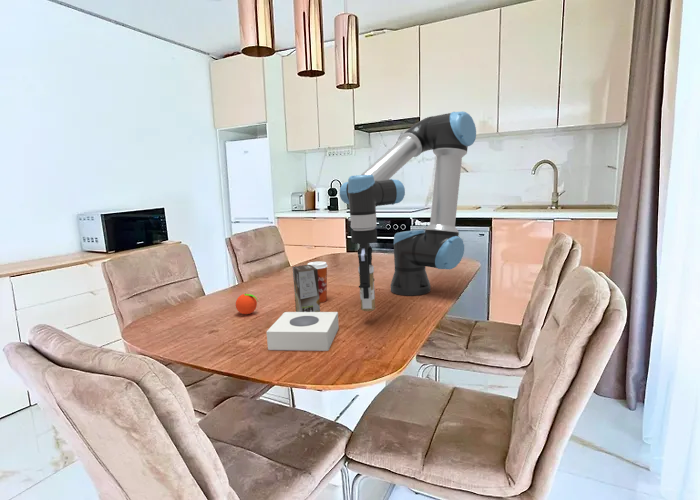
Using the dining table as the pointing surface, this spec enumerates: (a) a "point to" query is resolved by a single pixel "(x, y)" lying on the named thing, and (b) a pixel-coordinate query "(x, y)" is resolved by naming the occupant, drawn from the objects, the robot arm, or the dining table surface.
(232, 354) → the dining table surface
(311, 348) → the plinth
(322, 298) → the paper cup
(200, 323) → the dining table surface
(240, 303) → the clementine
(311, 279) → the coffee box
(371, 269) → the sprinkles bottle
